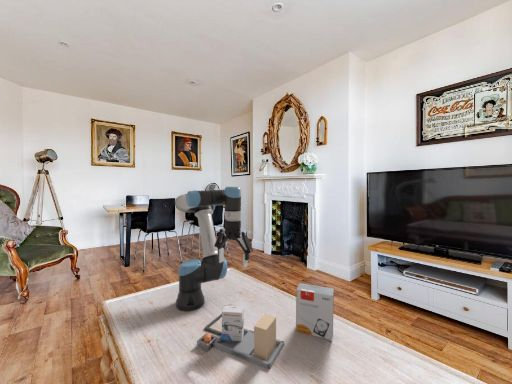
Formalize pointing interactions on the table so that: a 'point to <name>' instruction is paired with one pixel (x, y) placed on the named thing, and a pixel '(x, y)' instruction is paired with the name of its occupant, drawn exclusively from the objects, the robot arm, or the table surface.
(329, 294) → the hard drive box
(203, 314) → the table surface
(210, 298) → the table surface
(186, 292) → the robot arm
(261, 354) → the billet
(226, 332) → the ink box
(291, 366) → the table surface
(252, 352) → the grey rectangular tray
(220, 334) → the frame
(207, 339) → the brown egg
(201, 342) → the housing
